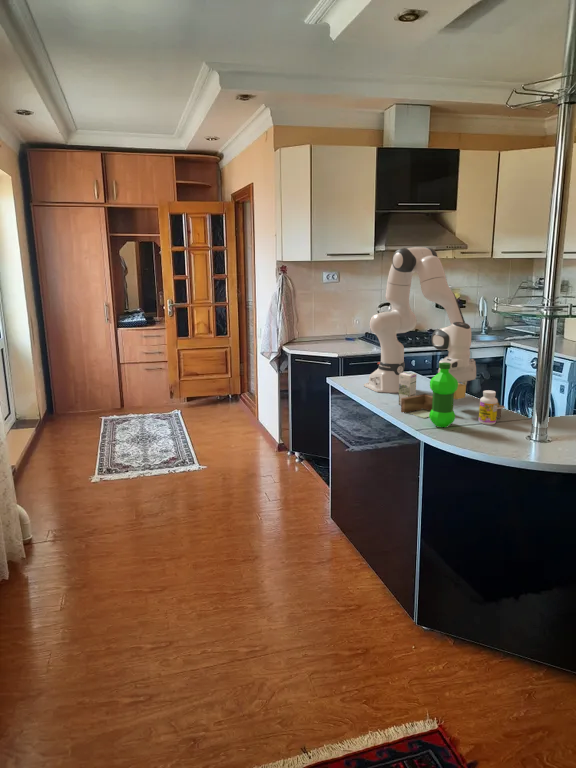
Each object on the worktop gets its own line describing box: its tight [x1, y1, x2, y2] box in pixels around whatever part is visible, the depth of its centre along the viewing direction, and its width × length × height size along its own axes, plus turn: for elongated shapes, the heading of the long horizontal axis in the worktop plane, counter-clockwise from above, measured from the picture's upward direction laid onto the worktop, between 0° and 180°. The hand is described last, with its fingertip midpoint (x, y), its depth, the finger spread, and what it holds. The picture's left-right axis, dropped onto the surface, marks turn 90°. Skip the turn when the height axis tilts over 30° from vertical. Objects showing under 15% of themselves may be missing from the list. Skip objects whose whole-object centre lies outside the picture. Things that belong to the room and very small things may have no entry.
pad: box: [409, 409, 431, 419], centre depth 236 cm, size 8×8×1 cm
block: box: [454, 382, 467, 400], centre depth 241 cm, size 6×6×6 cm
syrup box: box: [398, 371, 417, 406], centre depth 250 cm, size 6×6×14 cm
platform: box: [497, 402, 506, 418], centre depth 230 cm, size 12×18×7 cm, turn 109°
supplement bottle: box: [478, 389, 499, 426], centre depth 222 cm, size 7×7×13 cm
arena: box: [400, 393, 433, 414], centre depth 237 cm, size 16×14×6 cm
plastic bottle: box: [428, 362, 458, 428], centre depth 218 cm, size 10×10×25 cm
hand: (456, 392), depth 241 cm, fingers closed on block, 5 cm apart
